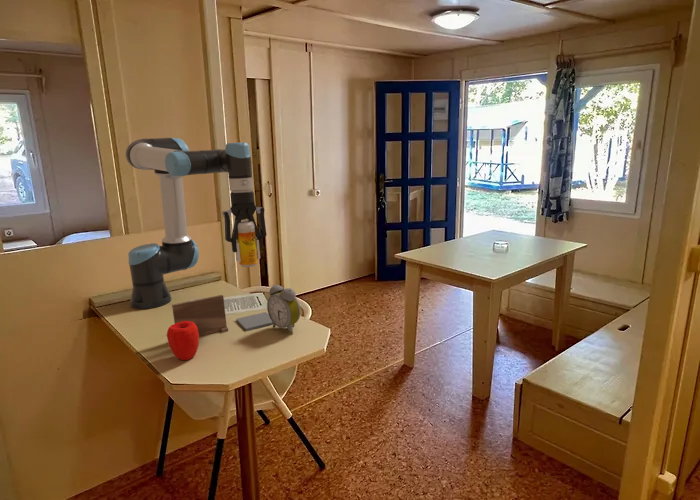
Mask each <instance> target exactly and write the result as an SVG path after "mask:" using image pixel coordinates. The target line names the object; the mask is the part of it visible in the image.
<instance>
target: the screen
mask: <svg viewBox="0 0 700 500" xmlns="http://www.w3.org/2000/svg"><path fill="white" fill-rule="evenodd" d="M171 307H172V315H173V321H174V323H173V324H176V323H179V322H182V321H191V322H194V323H195V324H196V326H197V328H198V333H199V337H201V336H205V335H209V334H213V333H218V332H222V333H227V332H229V328H228V325H227V318H226V308H225V307H226V306H225V298H224V295H223V294H217V295H214V296H209V297H203V298H199V299H193V300H188V301H184V302H179V303H172V304H171Z"/></svg>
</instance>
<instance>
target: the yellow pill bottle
mask: <svg viewBox="0 0 700 500" xmlns="http://www.w3.org/2000/svg"><path fill="white" fill-rule="evenodd" d="M256 239H257V238H256V236H255V226H254V223H253V221H252V222H250V221H249V220H248V219H244V220H241V223H239V224H238V236H237V242H238V243H239V249H240V259H241V262H238V263H239V265H240V266H241V267H242V268H250V267H251V268H252V267H255V266H257V264H258V262H259V261H258V260H259V259H258V258H257V247H256Z"/></svg>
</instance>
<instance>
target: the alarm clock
mask: <svg viewBox="0 0 700 500" xmlns="http://www.w3.org/2000/svg"><path fill="white" fill-rule="evenodd" d="M268 293H269V297H268V299H267V302H266V309H267V313H268V314H269V317H270V319H271V320H272V322H273V325H272V327H273V328H275V327H278V328H280V329H284V328H287V329H288V331H289V334H290V335H293V334H294V331H293V327H296V325H295V324H296V323H297V322H298V321H299V319H300V317H301V307H300V304H299V303H300V302H299V301H298V299H297V295H296V292H295V290H294V289H292V288H290V287H285V288H284V287H283V286H281V285H279V284H272V286H271V287H270V289H269V292H268Z"/></svg>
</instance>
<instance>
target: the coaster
mask: <svg viewBox="0 0 700 500" xmlns="http://www.w3.org/2000/svg"><path fill="white" fill-rule="evenodd" d="M236 322H237V323H238V325H240V326H241V327H242V328H243V329H244V331H245V332H247V331H251V330H256V329H261V328H264V327H268V326H273V322H272V320H271V319H270V317H269V314H268V312H266V311H265V312H260V313H255V314H250V315H247V316H242V317H238V318H236Z"/></svg>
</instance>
